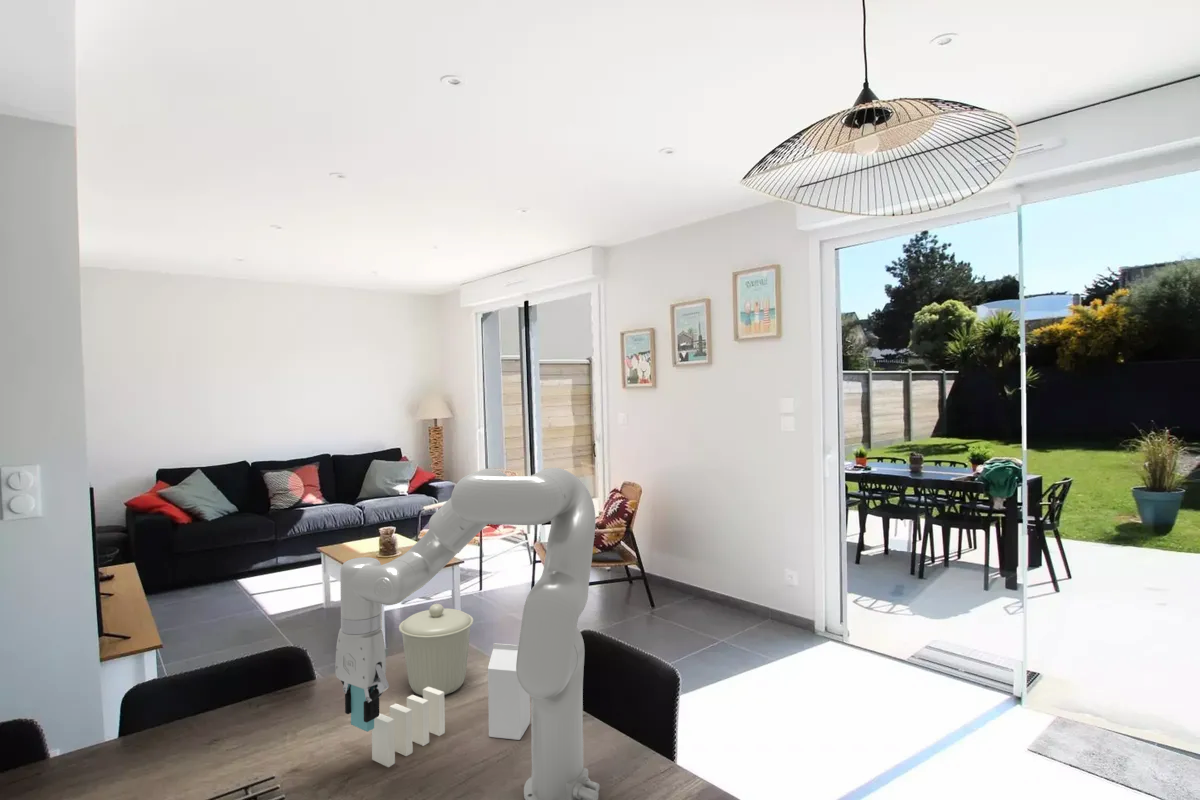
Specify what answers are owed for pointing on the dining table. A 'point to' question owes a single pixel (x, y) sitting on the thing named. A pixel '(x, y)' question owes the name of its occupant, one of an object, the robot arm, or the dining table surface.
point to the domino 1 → (359, 709)
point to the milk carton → (506, 695)
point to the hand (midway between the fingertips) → (362, 714)
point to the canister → (436, 648)
